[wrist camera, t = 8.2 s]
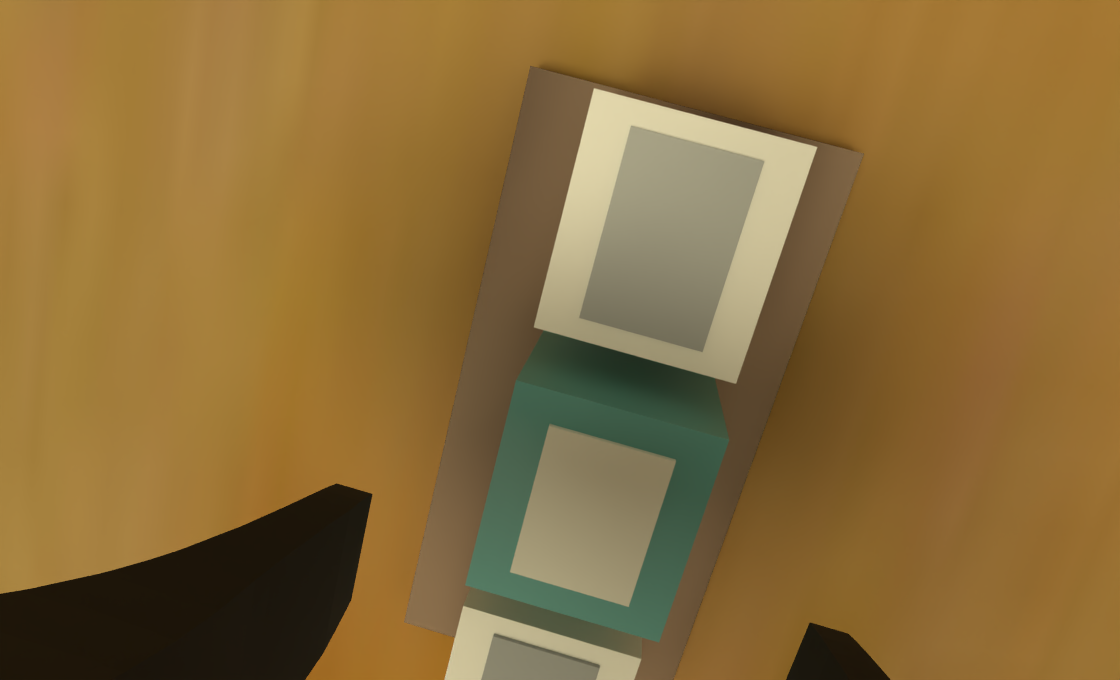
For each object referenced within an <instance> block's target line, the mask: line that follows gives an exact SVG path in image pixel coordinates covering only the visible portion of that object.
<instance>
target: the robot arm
mask: <svg viewBox="0 0 1120 680" xmlns="http://www.w3.org/2000/svg"><path fill="white" fill-rule="evenodd" d="M371 498H372V494H371V493H367V492H364V491H360V490H357V489H354V488H350V487H347V486H343V485H340V484H334V485H332V486H329V487H327V488H325V489H322V490H320V491H318V492H316V493H314V494H312V495H309V496H307V497H305V498H303V499H301V500H299V501H297V502H294V503H292V504H290V505H288V506H286V507H284V508H281V509H279V510H277V511H275V512H272V513H270V514H268V515H266V516H263V517H261V518H259V519H257V520H254V521H252V522H250V523H248V524H245V525H243V526H241V527H238V528H236V529H233V530H231V531H228V532H225V533H223V534H220V535H218V536H215V537H212V538H210V539H207V540H205V541H202V542H200V543H197V544H194V545H192V546H189V547H187V548H184V549H181V550H178V551H175V552H172V553H169V554H166V555H163V556H160V557H157V558H154V559H151V560H147V561H144V562H140V563H137V564H133V565H130V566H126V567H123V568H119V569H116V570H112V571H108V572H104V573H101V574H96V575H91V576H87V577H82V578H78V579H73V580H69V581H64V582H59V583H55V584H50V585H46V586H41V587H37V588H32V589H26V590H21V591H15V592H9V593H3V594H0V680H305V679H306V678H307V676H308V675H309V673H310V672H311V670H312V669H313V667H314V666H315V664H316V663H317V662H318V660H319V659H320V657H321V656H322V654H323V652H324V651H325V649H326V647H327V645H328V643H329V641H330V639H331V638H332V636H333V634H334V632H335V630H336V628H337V626H338V624H339V622H340V621H341V619H342V617H343V615H344V613H345V611H346V609H347V607H348V605H349V603H350V601H351V598H352V593H353V588H354V583H355V578H356V573H357V568H358V563H359V558H360V553H361V548H362V543H363V538H364V533H365V528H366V523H367V518H368V513H369V508H370V503H371ZM786 680H890V679H889V677H888V676H887V675H886V674H885V673H884V672H883V671H882V669H881V668H880V667H879V666H878V665H877V664H876V663H875V661H874V660H873V659H872V658H871V657H870V656H869V655H868V654H867V652H866V651H865V650H864V649H863V648H862V647H861V646H860V645H859V644H858V643H857V642H856V641H855V640H854V639H853V638H852V637H851V636H850V635H849V634H847V633H844V632H841V631H837V630H834V629H830V628H827V627H824V626H820V625H817V624H813V623H809V626H808V628H807V631H806V633H805V635H804V638H803V640H802V643H801V645H800V648H799V650H798V652H797V655H796V657H795V660H794V662H793V664H792V667H791V669H790V672H789V674H788V676H787V679H786Z"/></svg>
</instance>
